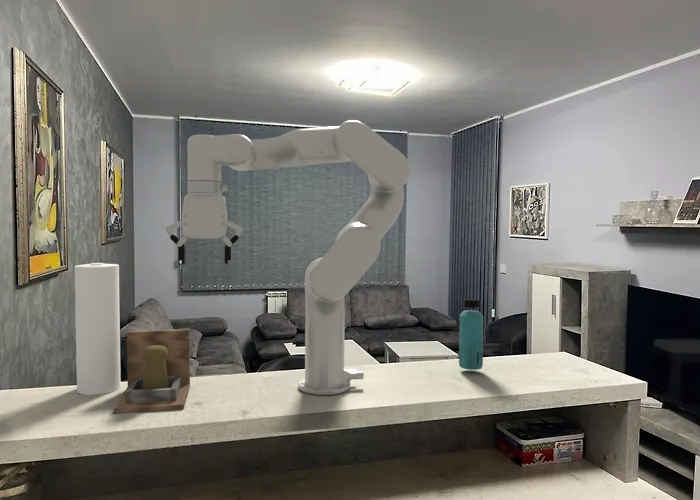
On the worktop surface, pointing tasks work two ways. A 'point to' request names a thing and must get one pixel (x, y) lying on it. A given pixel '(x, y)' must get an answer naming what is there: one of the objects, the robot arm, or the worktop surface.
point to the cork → (155, 367)
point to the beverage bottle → (471, 337)
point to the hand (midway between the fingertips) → (205, 263)
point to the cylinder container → (97, 328)
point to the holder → (175, 365)
